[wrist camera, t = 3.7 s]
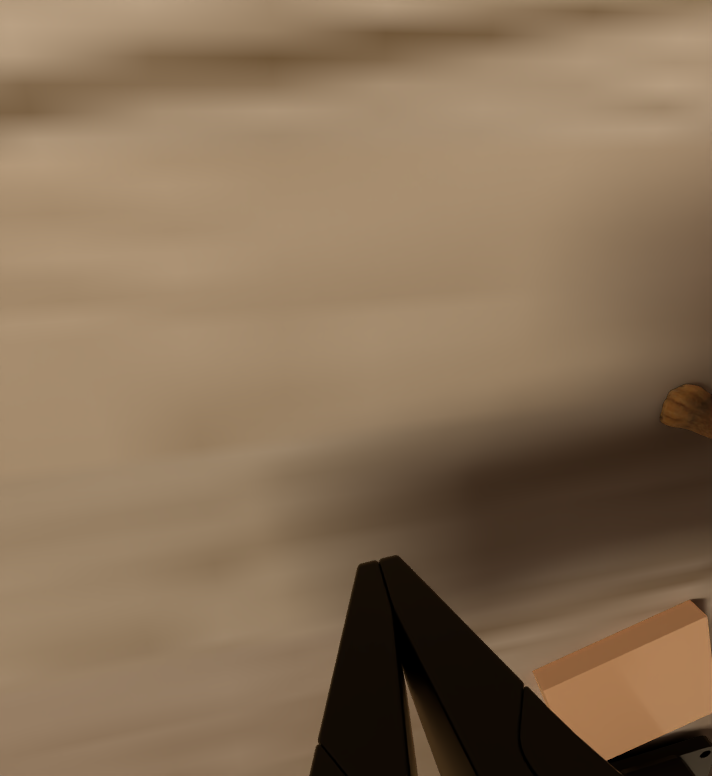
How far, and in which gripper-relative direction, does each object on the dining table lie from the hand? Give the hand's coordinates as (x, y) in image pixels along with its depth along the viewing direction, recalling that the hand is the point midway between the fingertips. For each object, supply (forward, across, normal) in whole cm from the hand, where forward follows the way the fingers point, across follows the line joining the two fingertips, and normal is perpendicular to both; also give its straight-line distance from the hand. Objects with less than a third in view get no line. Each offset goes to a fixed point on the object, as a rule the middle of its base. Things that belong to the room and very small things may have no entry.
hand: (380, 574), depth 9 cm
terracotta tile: (+3, -8, +11) cm, 14 cm away
